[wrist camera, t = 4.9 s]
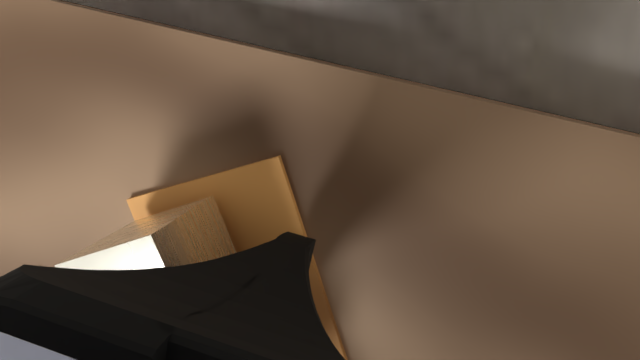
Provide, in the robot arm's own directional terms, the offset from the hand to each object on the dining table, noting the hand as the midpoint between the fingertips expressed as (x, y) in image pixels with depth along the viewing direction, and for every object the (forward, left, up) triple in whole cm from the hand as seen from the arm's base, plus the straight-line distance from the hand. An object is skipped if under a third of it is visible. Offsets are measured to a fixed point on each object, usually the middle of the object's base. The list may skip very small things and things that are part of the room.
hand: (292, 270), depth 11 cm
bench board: (-5, +2, -3) cm, 6 cm away
